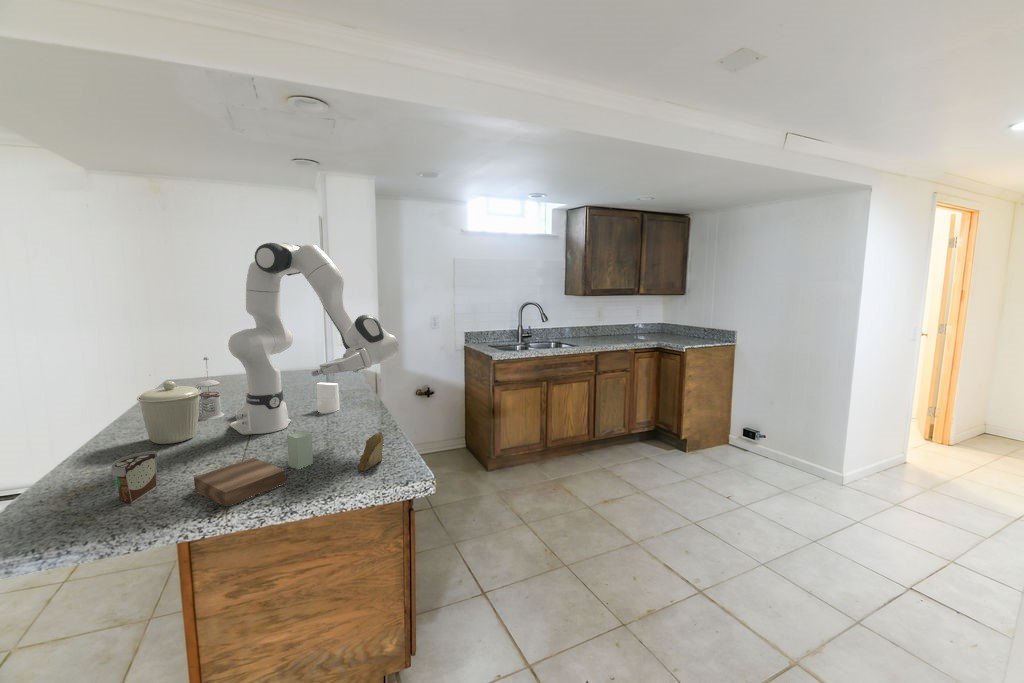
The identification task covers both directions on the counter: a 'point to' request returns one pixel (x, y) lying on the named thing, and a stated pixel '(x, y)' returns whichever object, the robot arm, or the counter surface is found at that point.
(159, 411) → the canister
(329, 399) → the white tapered cylinder
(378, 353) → the robot arm
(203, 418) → the french press
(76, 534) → the counter surface
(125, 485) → the food container
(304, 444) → the sage block
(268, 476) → the walnut base
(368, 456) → the rock
